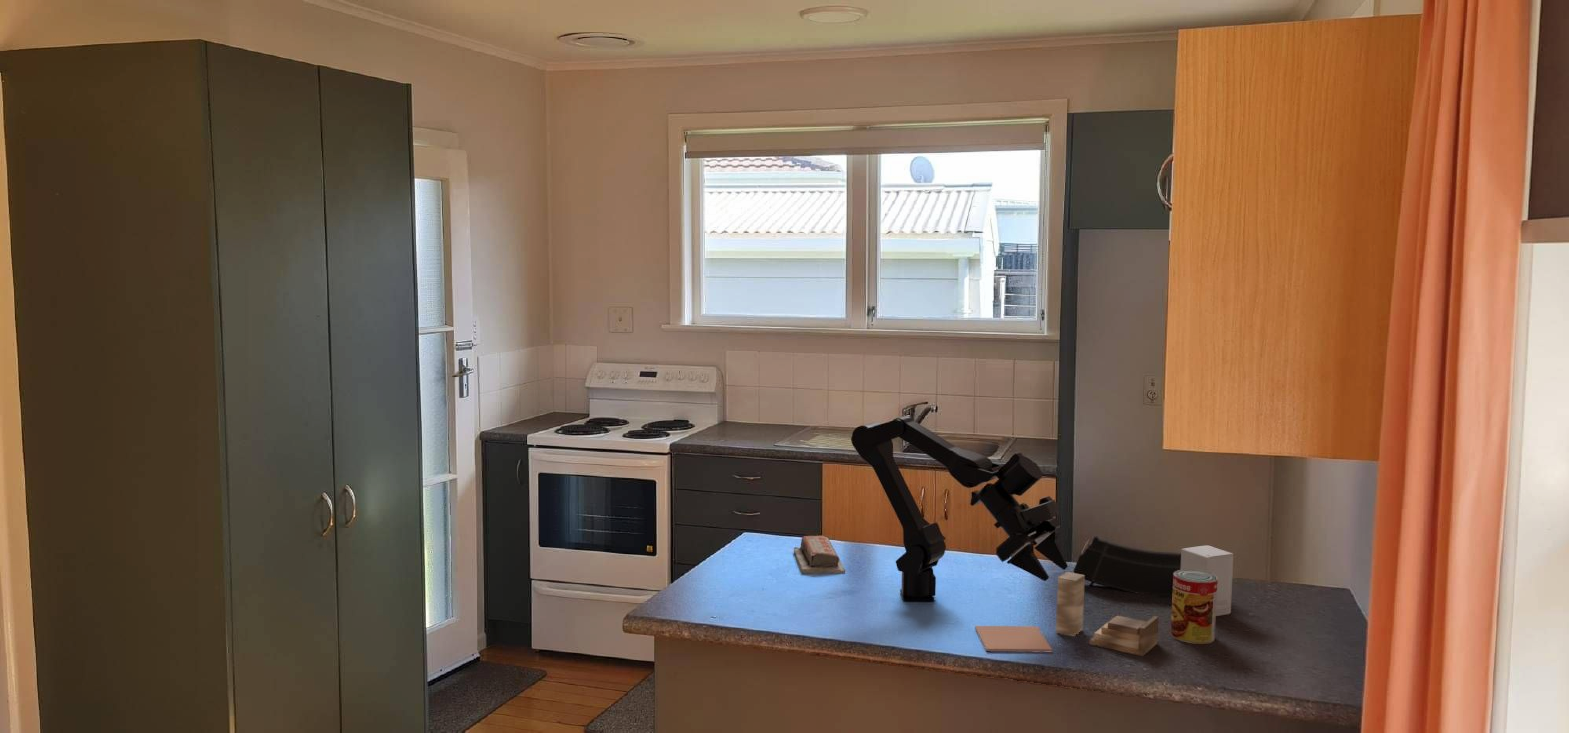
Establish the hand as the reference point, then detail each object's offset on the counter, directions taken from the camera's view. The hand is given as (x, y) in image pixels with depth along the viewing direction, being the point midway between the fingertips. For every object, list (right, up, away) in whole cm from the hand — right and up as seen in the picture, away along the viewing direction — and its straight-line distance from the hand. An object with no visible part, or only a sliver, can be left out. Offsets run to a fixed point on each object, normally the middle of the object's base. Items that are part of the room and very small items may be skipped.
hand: (1056, 573), depth 213 cm
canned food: (+25, -12, -3) cm, 28 cm away
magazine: (+25, -9, +24) cm, 36 cm away
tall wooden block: (+2, -11, -1) cm, 11 cm away
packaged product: (-45, -6, +44) cm, 63 cm away
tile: (-10, -11, -6) cm, 16 cm away
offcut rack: (+11, -12, -7) cm, 17 cm away
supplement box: (+33, -10, +12) cm, 37 cm away
